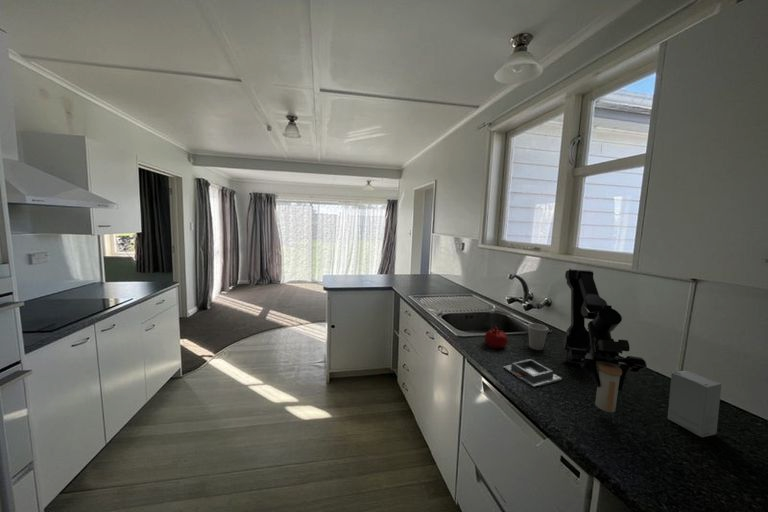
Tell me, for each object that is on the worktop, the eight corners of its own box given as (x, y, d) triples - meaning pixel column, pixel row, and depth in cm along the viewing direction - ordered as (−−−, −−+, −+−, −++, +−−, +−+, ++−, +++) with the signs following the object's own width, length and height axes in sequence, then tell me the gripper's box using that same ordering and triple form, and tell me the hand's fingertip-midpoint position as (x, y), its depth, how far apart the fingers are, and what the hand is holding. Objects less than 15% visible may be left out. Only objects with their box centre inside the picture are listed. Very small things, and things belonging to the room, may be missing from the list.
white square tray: (529, 362, 117) (530, 355, 117) (561, 380, 104) (562, 373, 104) (503, 368, 112) (503, 361, 111) (533, 387, 99) (534, 380, 99)
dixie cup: (550, 350, 128) (552, 329, 127) (535, 352, 126) (537, 330, 125) (536, 342, 136) (538, 322, 135) (521, 344, 134) (523, 323, 133)
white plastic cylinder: (591, 399, 88) (596, 361, 87) (612, 403, 87) (617, 365, 85) (598, 411, 83) (603, 371, 81) (620, 415, 81) (626, 375, 80)
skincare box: (716, 435, 78) (725, 384, 76) (700, 438, 77) (709, 387, 75) (679, 414, 86) (686, 368, 84) (664, 417, 85) (671, 371, 83)
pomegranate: (510, 351, 127) (512, 331, 126) (488, 350, 127) (490, 330, 126) (501, 341, 137) (503, 323, 136) (481, 340, 137) (482, 322, 136)
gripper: (573, 323, 89) (579, 374, 80) (648, 332, 82) (664, 388, 74) (564, 337, 97) (569, 384, 88) (632, 346, 91) (644, 398, 82)
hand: (609, 388), depth 83 cm, fingers closed on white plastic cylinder, 5 cm apart
